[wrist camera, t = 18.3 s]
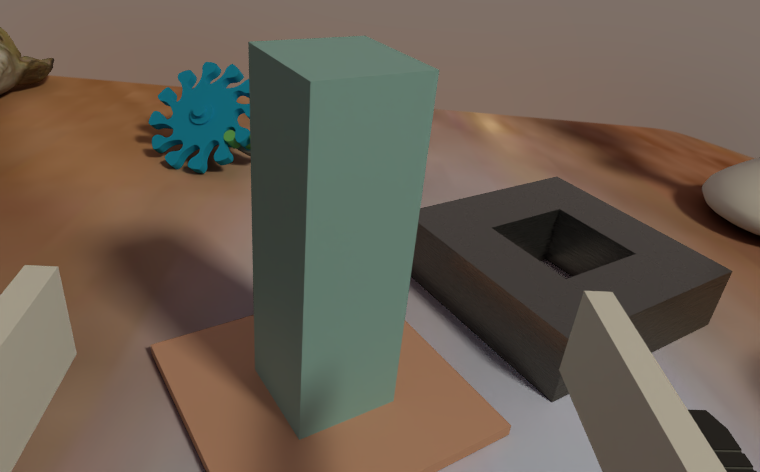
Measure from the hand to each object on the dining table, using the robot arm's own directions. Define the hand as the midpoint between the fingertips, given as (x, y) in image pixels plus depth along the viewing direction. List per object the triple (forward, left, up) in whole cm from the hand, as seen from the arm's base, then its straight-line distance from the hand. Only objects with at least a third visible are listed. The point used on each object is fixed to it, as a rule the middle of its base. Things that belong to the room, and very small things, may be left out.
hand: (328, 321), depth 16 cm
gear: (-37, +10, -13) cm, 40 cm away
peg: (-8, +5, -12) cm, 15 cm away
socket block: (-9, +22, -12) cm, 27 cm away
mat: (-8, +5, -12) cm, 16 cm away
